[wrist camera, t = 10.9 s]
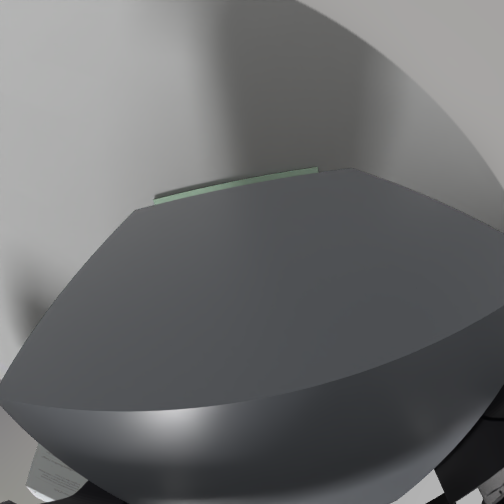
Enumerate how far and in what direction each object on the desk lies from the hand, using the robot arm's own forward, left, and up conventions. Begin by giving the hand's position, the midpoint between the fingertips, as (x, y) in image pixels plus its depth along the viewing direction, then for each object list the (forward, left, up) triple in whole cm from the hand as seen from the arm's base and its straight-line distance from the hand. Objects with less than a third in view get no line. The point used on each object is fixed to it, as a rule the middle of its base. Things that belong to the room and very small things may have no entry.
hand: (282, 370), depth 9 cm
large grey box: (0, 0, -3) cm, 2 cm away
